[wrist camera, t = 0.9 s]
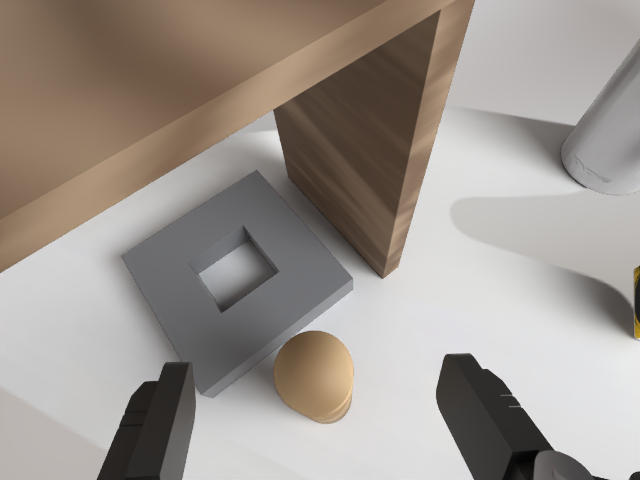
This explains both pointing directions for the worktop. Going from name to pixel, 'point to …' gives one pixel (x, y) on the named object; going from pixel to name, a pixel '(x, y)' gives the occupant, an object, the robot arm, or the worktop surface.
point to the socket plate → (255, 308)
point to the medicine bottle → (637, 303)
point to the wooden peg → (315, 376)
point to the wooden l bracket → (221, 104)
